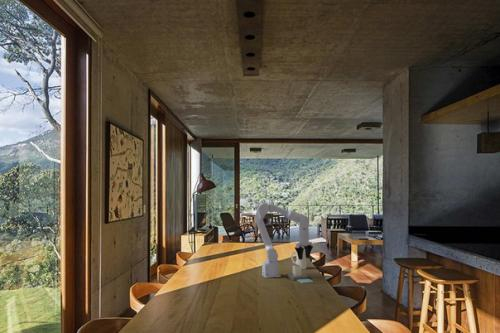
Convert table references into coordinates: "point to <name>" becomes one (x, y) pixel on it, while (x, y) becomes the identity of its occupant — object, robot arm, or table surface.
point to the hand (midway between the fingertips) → (304, 258)
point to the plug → (297, 270)
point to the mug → (299, 262)
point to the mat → (305, 281)
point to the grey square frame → (296, 277)
